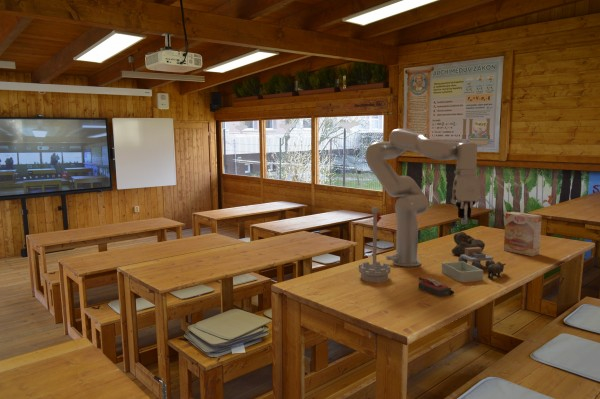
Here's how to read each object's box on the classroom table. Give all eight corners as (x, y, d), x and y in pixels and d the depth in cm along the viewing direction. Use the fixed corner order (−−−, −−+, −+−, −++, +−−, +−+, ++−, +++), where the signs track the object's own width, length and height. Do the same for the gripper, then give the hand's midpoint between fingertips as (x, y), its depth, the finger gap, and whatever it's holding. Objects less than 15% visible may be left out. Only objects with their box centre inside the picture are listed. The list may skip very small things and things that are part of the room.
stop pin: (462, 225, 191) (464, 198, 189) (457, 223, 194) (458, 197, 193) (470, 224, 192) (471, 198, 190) (465, 222, 195) (466, 196, 194)
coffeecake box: (503, 250, 238) (505, 212, 235) (510, 248, 242) (512, 211, 239) (532, 256, 226) (535, 216, 223) (539, 254, 230) (542, 215, 227)
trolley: (474, 272, 201) (475, 254, 200) (456, 263, 215) (457, 246, 214) (497, 270, 204) (497, 252, 203) (477, 261, 217) (478, 245, 216)
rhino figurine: (508, 273, 199) (509, 260, 198) (494, 280, 190) (495, 266, 189) (499, 271, 202) (499, 258, 201) (484, 278, 193) (485, 264, 192)
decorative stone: (483, 248, 220) (453, 233, 226) (473, 267, 224) (444, 252, 230) (488, 239, 234) (459, 225, 239) (478, 257, 238) (451, 244, 243)
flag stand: (379, 285, 186) (380, 210, 182) (352, 278, 194) (352, 207, 190) (396, 277, 196) (397, 206, 191) (369, 271, 204) (370, 203, 200)
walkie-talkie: (458, 295, 174) (420, 280, 192) (459, 283, 174) (421, 270, 191) (441, 299, 170) (404, 284, 188) (441, 287, 170) (404, 273, 187)
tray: (460, 282, 188) (461, 272, 188) (441, 272, 202) (441, 263, 201) (482, 280, 191) (483, 270, 190) (462, 270, 204) (462, 261, 204)
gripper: (454, 174, 185) (452, 220, 187) (489, 173, 189) (486, 218, 191) (443, 172, 192) (442, 217, 194) (477, 171, 196) (475, 215, 199)
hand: (464, 217), depth 193 cm, fingers closed on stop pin, 2 cm apart
